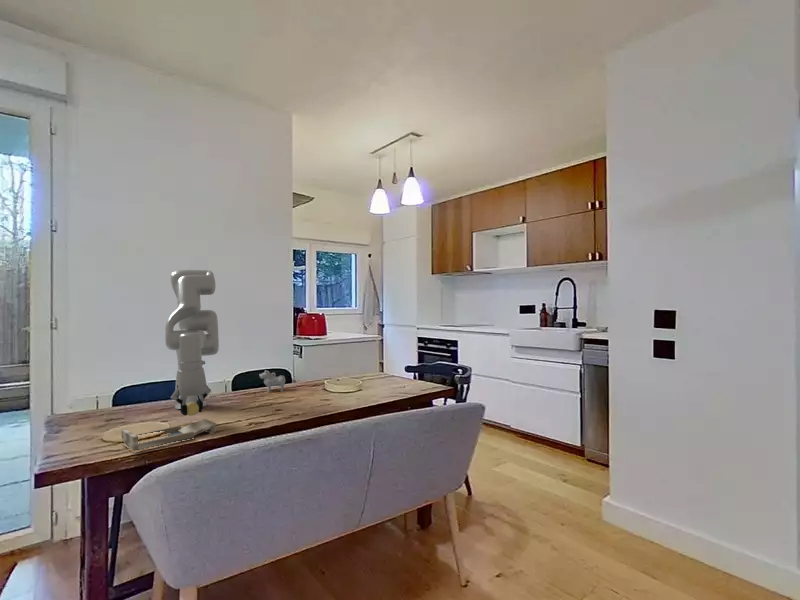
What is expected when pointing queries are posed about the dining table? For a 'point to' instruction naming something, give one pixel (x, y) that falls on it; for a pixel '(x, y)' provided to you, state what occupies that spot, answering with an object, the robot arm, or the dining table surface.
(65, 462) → the dining table surface
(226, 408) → the dining table surface
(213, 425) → the ramp
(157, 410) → the dining table surface
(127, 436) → the grey tray
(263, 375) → the grey dog figurine
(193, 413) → the ball
